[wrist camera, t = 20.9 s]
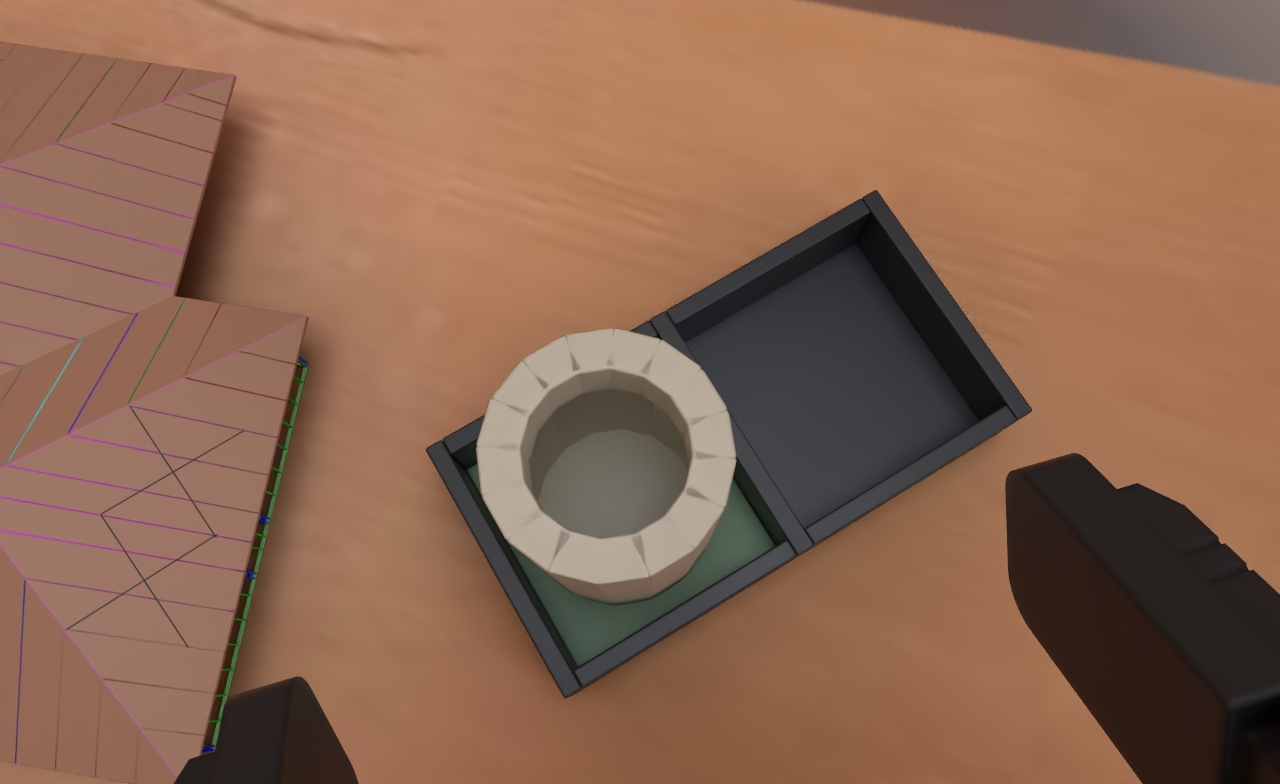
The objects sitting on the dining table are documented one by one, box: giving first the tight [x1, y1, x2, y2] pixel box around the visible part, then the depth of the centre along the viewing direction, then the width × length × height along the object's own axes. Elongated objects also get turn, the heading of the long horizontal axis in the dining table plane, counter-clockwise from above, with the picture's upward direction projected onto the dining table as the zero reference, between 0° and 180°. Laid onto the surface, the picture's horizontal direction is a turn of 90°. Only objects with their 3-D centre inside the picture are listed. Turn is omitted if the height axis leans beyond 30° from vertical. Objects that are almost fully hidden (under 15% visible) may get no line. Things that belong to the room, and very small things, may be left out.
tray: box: [426, 190, 1032, 698], centre depth 35 cm, size 17×9×3 cm, turn 121°
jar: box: [476, 328, 736, 605], centre depth 30 cm, size 6×6×10 cm
